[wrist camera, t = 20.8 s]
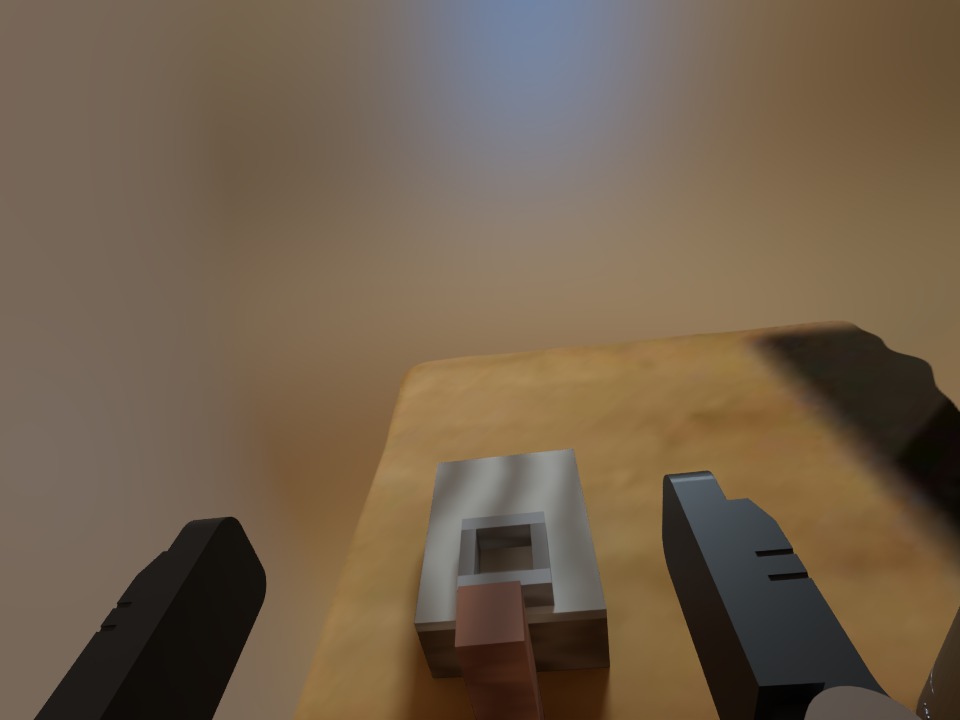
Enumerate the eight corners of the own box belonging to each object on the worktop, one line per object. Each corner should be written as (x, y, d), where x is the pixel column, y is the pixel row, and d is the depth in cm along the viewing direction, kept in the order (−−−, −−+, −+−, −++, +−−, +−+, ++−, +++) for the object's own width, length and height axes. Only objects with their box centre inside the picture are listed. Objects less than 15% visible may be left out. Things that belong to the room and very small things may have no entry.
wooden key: (546, 729, 37) (520, 580, 30) (552, 790, 34) (524, 640, 27) (496, 733, 38) (457, 586, 30) (498, 793, 34) (454, 646, 27)
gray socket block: (577, 499, 56) (571, 428, 52) (609, 666, 40) (604, 585, 36) (450, 512, 58) (433, 444, 53) (433, 678, 42) (406, 601, 37)
